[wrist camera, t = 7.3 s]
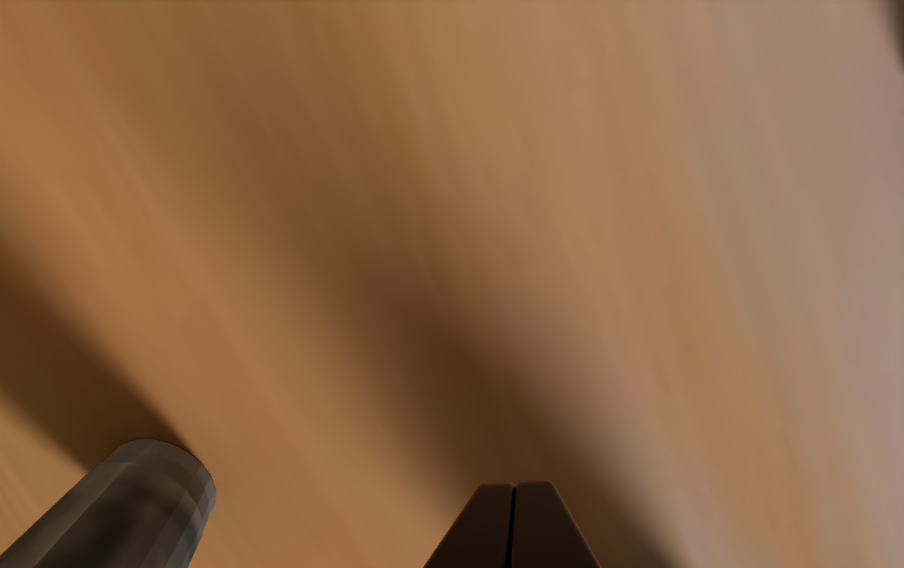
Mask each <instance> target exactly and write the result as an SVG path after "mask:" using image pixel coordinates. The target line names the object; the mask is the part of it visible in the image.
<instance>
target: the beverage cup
mask: <svg viewBox="0 0 904 568" xmlns="http://www.w3.org/2000/svg"><path fill="white" fill-rule="evenodd" d="M215 497H216V490H215V487H214V484H213V480H212V477H211V476H210V474H209V473H208V472H207V470H206V469H205V467H204V466H203V465H202V463H200V462H199V461H198V460H197V459H196V458H194V457H193V456H192V455H191V454H190V453H188V452H187V451H185V450H183V449H181V448H179V447H177V446H175V445H173V444H171V443H167V442H163V441H159V440H155V439H136V440H133V441H130V442H127V443H124V444H122V445H121V446H120V447H118V448H117V449H116V450H115V451H114V452H112V454H111V455H110V456H109V457H108V458H107V459H106V460H105V461H104V462H102V463H101V464H100V465H99V466H98V467H95V468H94V469H93V470H91V471H90V472H89V473H88V474H87V475H86V476H84V477H83V478H82V479H81V480H80V481H79V482H78V483H77V484H76V485H75V486H74V487H73V488H72V489H70V490H69V491H68V492H67V493H66V494H65V495H64V496H63V497H62V498H61V499H60V500H59V501H58V502H57V503H56V504H55V505H53V506H52V507H51V508H50V509H49V510H48V511H47V512H46V513H45V514H44V515H43V516H42V517H41V518H40V519H39V520H37V521H36V522H35V523H34V524H33V525H32V526H31V527H30V528H29V529H28V530H27V531H26V532H25V533H24V534H23V535H22V536H20V537H19V538H18V539H17V540H16V541H15V542H14V543H13V544H12V545H11V546H10V547H9V548H8V549H7V550H6V551H5V552H3V553H2V554H1V555H0V568H187V567H188V565H189V563H190V561H191V559H192V557H193V555H194V552H195V550H196V548H197V546H198V544H199V542H200V539H201V537H202V532H203V529H204V527H205V524H206V522H207V520H208V515H209V514H210V512H211V510H212V508H213V507H214V505H215Z"/></svg>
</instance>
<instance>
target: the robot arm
mask: <svg viewBox="0 0 904 568" xmlns="http://www.w3.org/2000/svg"><path fill="white" fill-rule="evenodd" d="M423 568H601V566H600V564H599V562H598V560H597V559H596V557H595V555H594V553H593V552H592V550H591V548H590V546H589V545H588V543H587V541H586V539H585V538H584V536H583V534H582V532H581V531H580V529H579V527H578V525H577V524H576V522H575V520H574V518H573V517H572V515H571V513H570V511H569V510H568V508H567V506H566V504H565V503H564V501H563V499H562V497H561V496H560V494H559V492H558V490H557V489H556V487H555V485H554V484H553V483H552V482H551V481H550V480H546V479H545V480H529V481H520V482H519V483H518V484H517V486H515V485H514V484H513V483H512V482H498V483H485V484H482V485H480V486H479V487H478V488H477V489H476V491H475V492H474V494H473V495H472V497H471V498H470V500H469V501H468V503H467V504H466V505H465V507H464V508H463V510H462V511H461V513H460V514H459V516H458V517H457V519H456V520H455V522H454V523H453V524H452V526H451V527H450V529H449V530H448V532H447V533H446V535H445V536H444V538H443V539H442V541H441V542H440V543H439V545H438V546H437V548H436V549H435V551H434V552H433V554H432V555H431V557H430V558H429V560H428V561H427V563H426V564H425V565H424V567H423Z"/></svg>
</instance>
